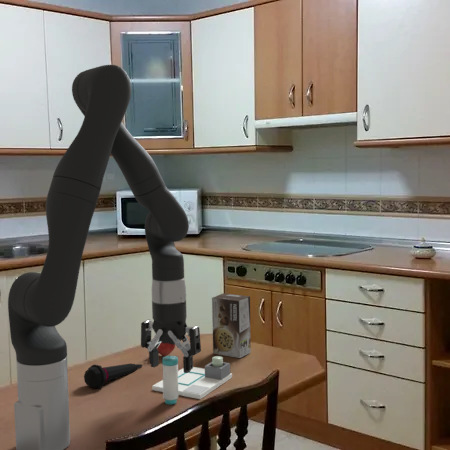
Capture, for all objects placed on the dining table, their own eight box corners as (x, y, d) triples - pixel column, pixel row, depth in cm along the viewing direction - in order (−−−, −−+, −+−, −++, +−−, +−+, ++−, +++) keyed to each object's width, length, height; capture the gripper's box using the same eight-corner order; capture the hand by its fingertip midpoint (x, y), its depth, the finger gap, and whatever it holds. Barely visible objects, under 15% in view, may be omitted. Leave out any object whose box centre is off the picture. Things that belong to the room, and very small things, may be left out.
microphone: (135, 377, 169) (81, 392, 152) (131, 356, 170) (77, 368, 153) (151, 375, 166) (98, 389, 149) (147, 352, 167) (94, 364, 150)
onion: (150, 359, 174) (150, 330, 173) (159, 352, 180) (158, 324, 179) (170, 360, 173) (170, 331, 172) (178, 354, 178) (178, 326, 177)
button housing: (221, 380, 155) (221, 368, 154) (204, 377, 157) (204, 366, 157) (230, 374, 159) (230, 363, 159) (213, 371, 161) (213, 360, 161)
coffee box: (251, 352, 179) (251, 296, 178) (239, 358, 174) (239, 300, 172) (224, 347, 184) (223, 292, 182) (211, 353, 179) (211, 296, 177)
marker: (173, 406, 141) (172, 361, 140) (160, 403, 143) (159, 359, 142) (181, 400, 144) (181, 357, 143) (168, 398, 146) (167, 354, 145)
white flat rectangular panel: (200, 399, 145) (200, 394, 145) (152, 389, 151) (152, 384, 151) (232, 377, 160) (232, 372, 159) (187, 369, 165) (187, 365, 165)
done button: (219, 369, 156) (219, 360, 156) (210, 368, 157) (210, 358, 157) (224, 366, 158) (224, 357, 158) (215, 365, 159) (215, 355, 159)
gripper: (132, 299, 141) (135, 370, 143) (188, 305, 135) (190, 379, 137) (151, 291, 148) (153, 359, 150) (205, 297, 141) (207, 368, 143)
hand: (171, 369), depth 143 cm, fingers open, 8 cm apart
